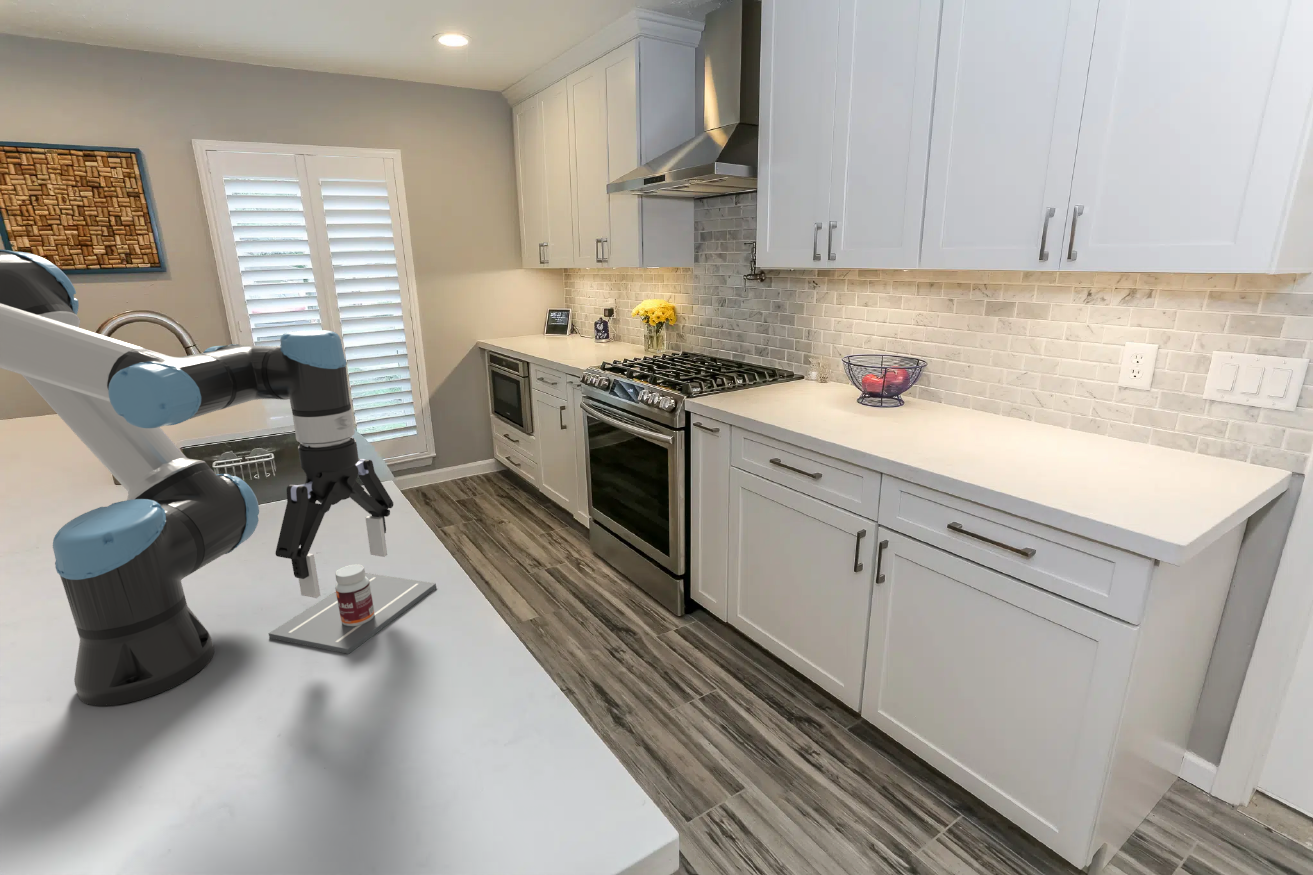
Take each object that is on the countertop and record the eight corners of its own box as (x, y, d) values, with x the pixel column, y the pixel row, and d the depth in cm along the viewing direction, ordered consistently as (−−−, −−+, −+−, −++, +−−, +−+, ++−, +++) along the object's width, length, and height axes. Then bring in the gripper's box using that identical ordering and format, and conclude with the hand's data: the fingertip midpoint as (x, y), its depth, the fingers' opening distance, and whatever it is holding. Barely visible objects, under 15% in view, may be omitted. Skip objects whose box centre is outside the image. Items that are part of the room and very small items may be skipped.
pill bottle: (334, 623, 98) (325, 573, 96) (361, 608, 102) (352, 560, 100) (355, 630, 96) (346, 579, 94) (381, 614, 100) (373, 566, 98)
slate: (348, 653, 92) (347, 648, 91) (269, 637, 96) (268, 633, 96) (436, 587, 110) (435, 583, 110) (366, 576, 115) (365, 572, 114)
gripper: (271, 468, 79) (298, 620, 85) (407, 421, 102) (421, 543, 107) (226, 463, 81) (255, 611, 87) (368, 418, 104) (384, 537, 110)
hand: (347, 574), depth 97 cm, fingers open, 13 cm apart
